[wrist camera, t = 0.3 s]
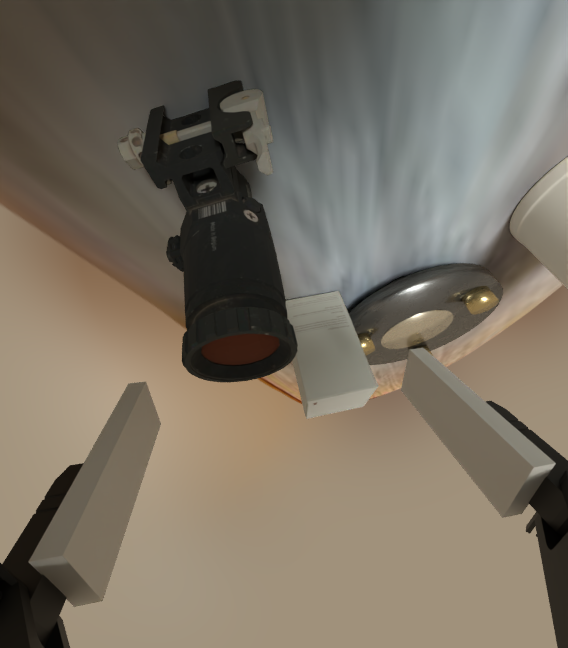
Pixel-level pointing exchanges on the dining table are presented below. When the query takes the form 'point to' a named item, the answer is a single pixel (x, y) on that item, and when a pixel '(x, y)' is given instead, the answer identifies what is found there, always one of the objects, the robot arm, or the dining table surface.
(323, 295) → the supplement box
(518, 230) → the jar
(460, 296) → the base
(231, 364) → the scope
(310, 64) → the dining table surface
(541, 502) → the robot arm
